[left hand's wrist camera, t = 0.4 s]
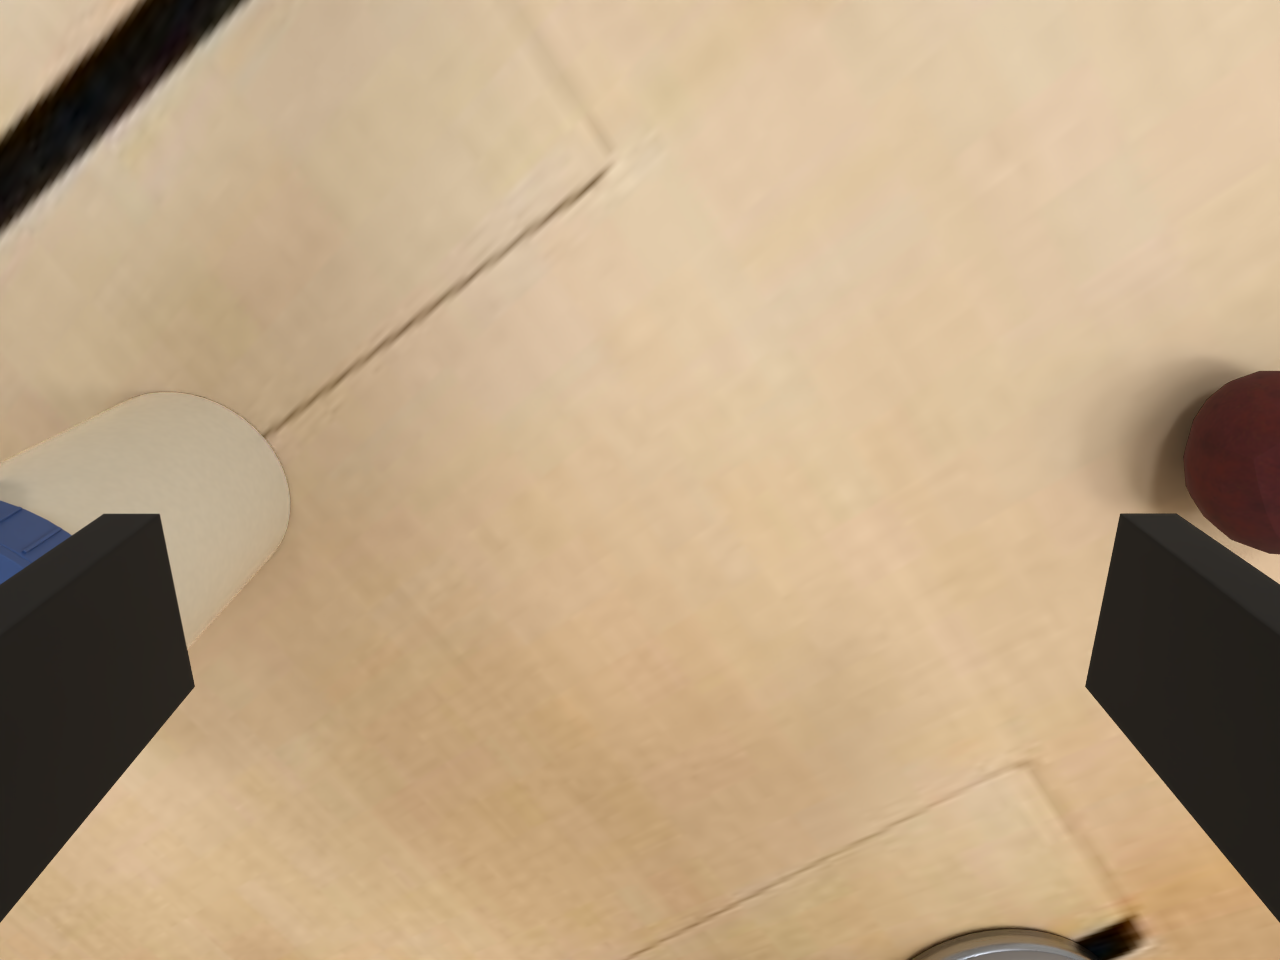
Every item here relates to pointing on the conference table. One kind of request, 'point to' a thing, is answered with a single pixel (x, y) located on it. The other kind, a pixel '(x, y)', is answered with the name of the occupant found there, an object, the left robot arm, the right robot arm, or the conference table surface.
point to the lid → (24, 538)
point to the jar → (166, 490)
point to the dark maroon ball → (1239, 460)
